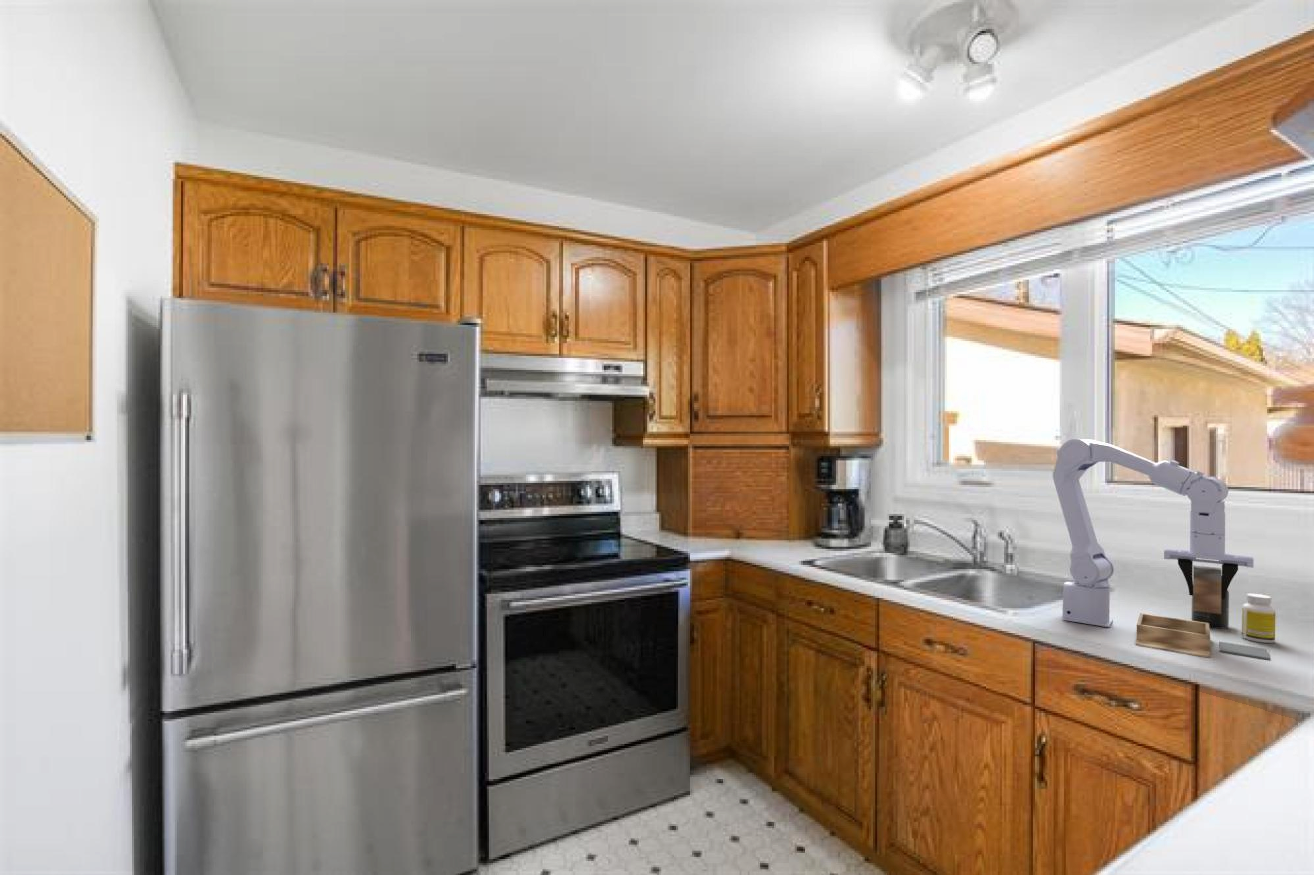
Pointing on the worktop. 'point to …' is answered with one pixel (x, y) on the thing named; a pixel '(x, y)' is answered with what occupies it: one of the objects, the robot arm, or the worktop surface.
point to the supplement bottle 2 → (1258, 619)
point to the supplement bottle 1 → (1214, 614)
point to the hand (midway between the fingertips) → (1206, 596)
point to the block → (1207, 589)
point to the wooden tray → (1173, 635)
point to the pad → (1244, 650)
